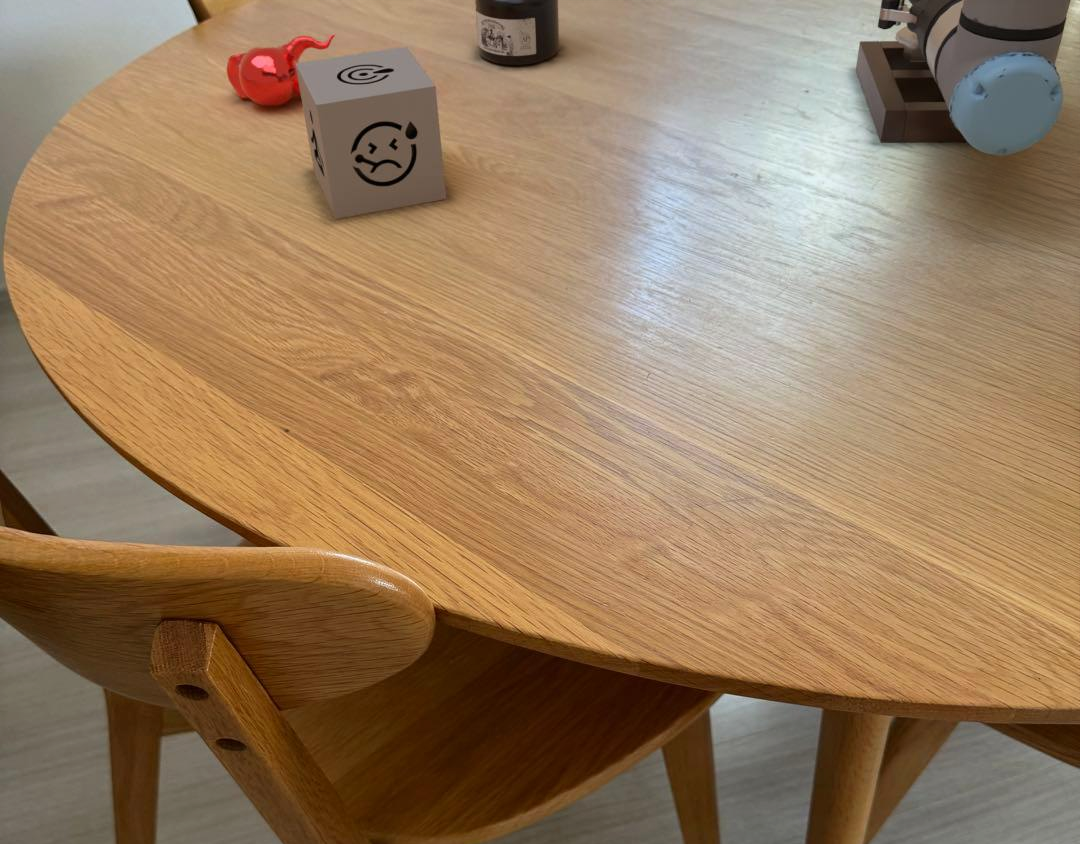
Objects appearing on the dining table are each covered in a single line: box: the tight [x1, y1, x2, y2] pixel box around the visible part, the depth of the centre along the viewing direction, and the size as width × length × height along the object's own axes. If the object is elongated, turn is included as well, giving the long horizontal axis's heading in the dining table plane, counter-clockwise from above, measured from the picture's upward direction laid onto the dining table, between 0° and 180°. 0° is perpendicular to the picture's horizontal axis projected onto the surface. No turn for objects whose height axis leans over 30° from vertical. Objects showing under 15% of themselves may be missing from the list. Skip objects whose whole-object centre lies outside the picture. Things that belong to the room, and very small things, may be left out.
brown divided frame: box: [855, 40, 968, 143], centre depth 113 cm, size 10×18×3 cm, turn 176°
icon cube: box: [295, 46, 447, 220], centre depth 102 cm, size 10×10×10 cm
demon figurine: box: [226, 34, 336, 107], centre depth 119 cm, size 8×6×12 cm
